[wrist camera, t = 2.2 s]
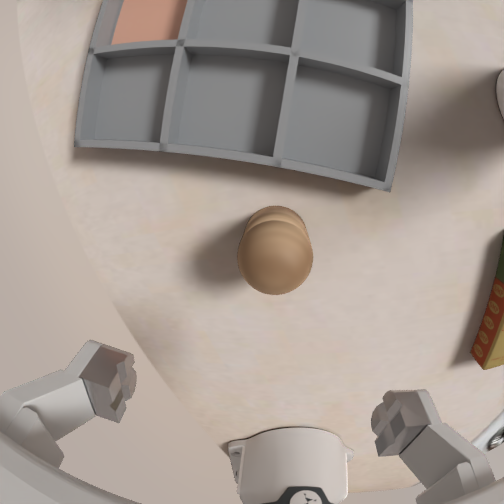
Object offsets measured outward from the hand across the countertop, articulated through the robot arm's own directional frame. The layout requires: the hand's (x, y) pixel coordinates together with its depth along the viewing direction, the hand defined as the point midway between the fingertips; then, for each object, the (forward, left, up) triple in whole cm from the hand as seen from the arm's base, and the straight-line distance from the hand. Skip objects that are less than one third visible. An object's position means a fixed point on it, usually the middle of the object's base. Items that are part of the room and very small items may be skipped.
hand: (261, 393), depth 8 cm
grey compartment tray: (+14, +5, -17) cm, 22 cm away
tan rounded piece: (0, 0, -17) cm, 17 cm away
